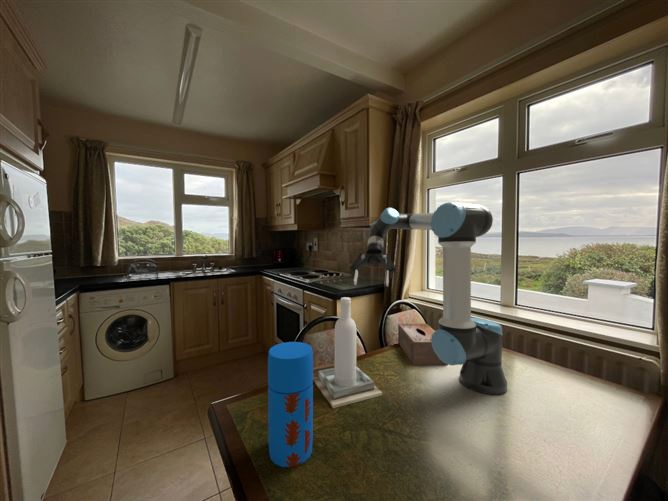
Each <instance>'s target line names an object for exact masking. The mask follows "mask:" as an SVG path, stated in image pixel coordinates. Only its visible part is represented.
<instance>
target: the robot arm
mask: <svg viewBox="0 0 668 501" xmlns="http://www.w3.org/2000/svg"><path fill="white" fill-rule="evenodd" d="M493 222H494V218H493V214H492V212H491V211H490V210H489V209H488V208H487V207H486V206H483V205H481V204H475V203H464V202H459V201H454V202H453V201H452V202H444V203H443V204H441V205H439V206H437V208H436V209H435V210H434V211H433V212H425V213H422V212H421V213H402V212H401V213H400V212H399V211H397V210H396V209H395V208H393V207H387V208H385V209H384V210H383V211H382V213H381V214H380V216H379V217H378V218H377V220H376V221H374V222H372V223H371V224H370V227H369V229H368V231H369V232H368V240H367V245H366V246H367V247H366V253H365V254H362V253H359V255H358V256H357V257H356V259H355V260H354V261H353V262H352V264H351V265H350V266H349V270H350V271H349V272H351V273H352V278H353V284H354V286H357V284H358V277H359V272H360V270H361V269H363V268H364V267H366V266H368V265H369V264H370V265H372V264H373V265H377V264H379V266H381V267H382V268H383V269H384V270H385V271H386V276H385V277H386V279H385V280H386V281H385V285H386V287H389V284H390V283H389V282H390V280H392V278H393V276H392V274H393V273H394V274H396V273H397V267H396V265H395V264H394V263H393V260H392V259H391V256H390V254H389V253H386V254H383V253H384V243H385V236H386V235H387V234H388V233H389V231H390V230H391V229H393V230H394V229H395V230H422V231H432V232H433V234H434V236H436V237H438V238H437V239H438V240H437V241H438V244H439V245H440V246H441V248H442V315H443V316H442V317H441V318H439V320H438V329H436V330H435V332H434V333H433V334H432V337H431V343H432V347H433V350H434V352H435V353H436V354H437V356H438V357H439V359H440V360H441V361H443V362H444V363H446V364H448V365H447V366H458V365H459V366H461V365H462V366H461V369H460V371H459V380H460V383H461V384H463V385H464V386H465V387H466V388H468V389H470V390H472V391H475V392H478V393H482V394H486V395H501V394H505V393H506V392H507V391H508V381H507V379H506V375H505V372H504V369H503V366H502V364H503V362H502V359H503V336H504V334H503V328H502V327H503V326H502V325H501V324H499V323H498V322H497V321H496V322H495V321H492V320H487V319H484V318H478V317H472V310H471V309H472V298H471V297H472V294H471V292H472V288H471V287H472V283H471V282H472V279H471V278H472V276H471V275H472V268H471V267H472V264H471V262H472V260H471V259H472V258H471V257H472V256H471V255H472V253H471V251H472V249H471V248H472V246H474V245H475V244H476V243H477V242H476V241H477V238H478V237H479V238H480V237H482V236H484V235H486V234H487V233H488V232H489V231H490V230H491V228H492V225H493ZM384 260H385V261H386V262H387V263H386V262H385V261H384Z"/></svg>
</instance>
